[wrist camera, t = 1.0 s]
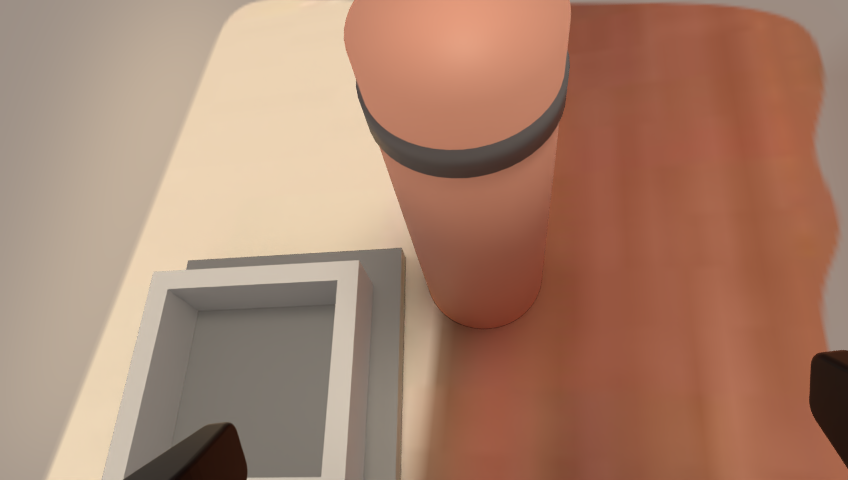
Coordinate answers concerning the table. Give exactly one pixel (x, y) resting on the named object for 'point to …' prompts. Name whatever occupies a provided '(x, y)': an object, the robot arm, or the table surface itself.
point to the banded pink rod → (467, 138)
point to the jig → (272, 364)
